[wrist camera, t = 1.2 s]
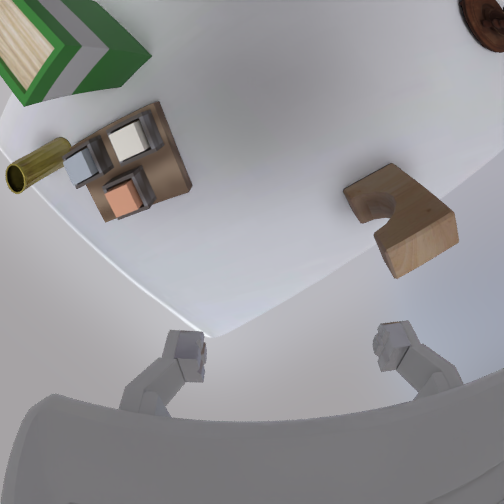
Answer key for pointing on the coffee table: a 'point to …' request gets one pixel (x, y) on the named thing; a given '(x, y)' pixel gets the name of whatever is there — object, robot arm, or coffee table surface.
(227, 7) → the coffee table surface
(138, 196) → the terracotta button
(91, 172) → the slate button
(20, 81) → the hardback book
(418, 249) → the decorative block
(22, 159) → the vase
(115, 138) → the cream button
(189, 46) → the coffee table surface
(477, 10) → the brown figurine
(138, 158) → the block sorting tray
